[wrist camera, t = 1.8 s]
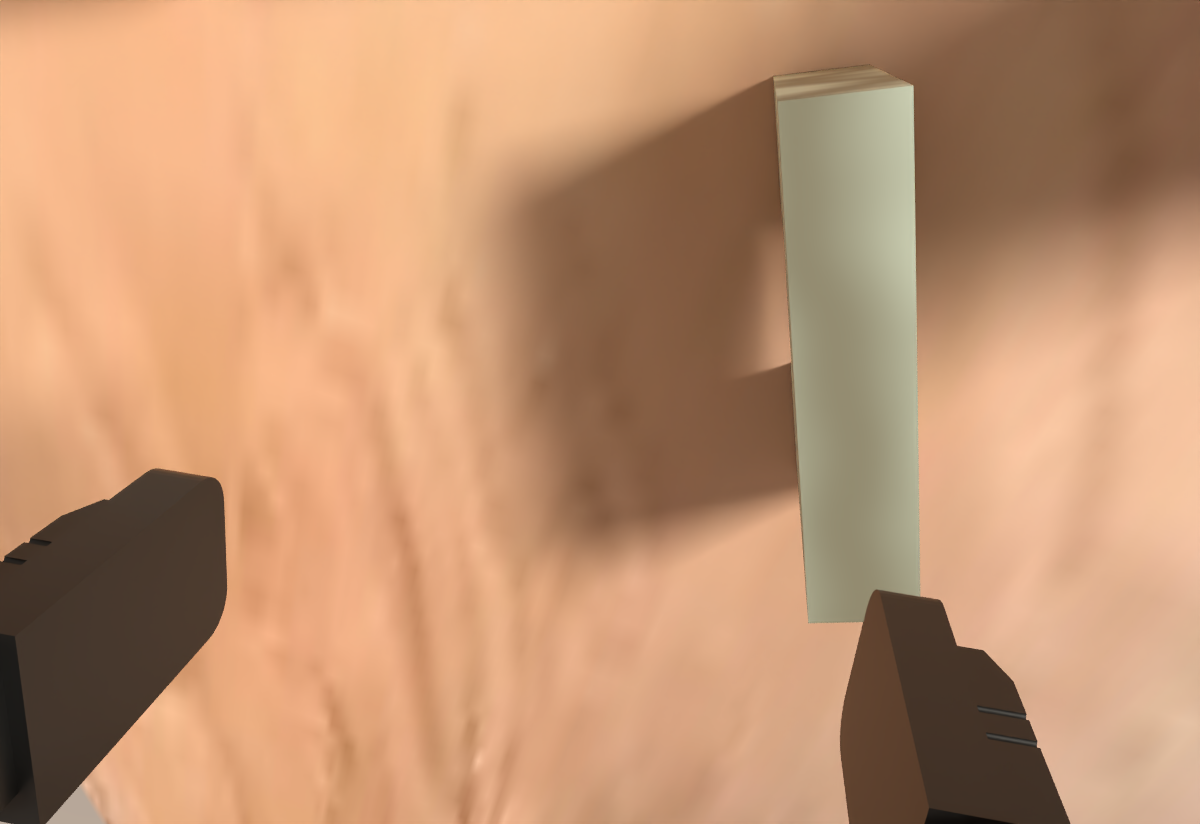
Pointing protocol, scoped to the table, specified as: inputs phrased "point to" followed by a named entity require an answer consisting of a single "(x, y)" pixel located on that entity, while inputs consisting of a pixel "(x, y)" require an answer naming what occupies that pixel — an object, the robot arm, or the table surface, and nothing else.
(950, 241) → the table surface
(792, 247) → the slotted plate
